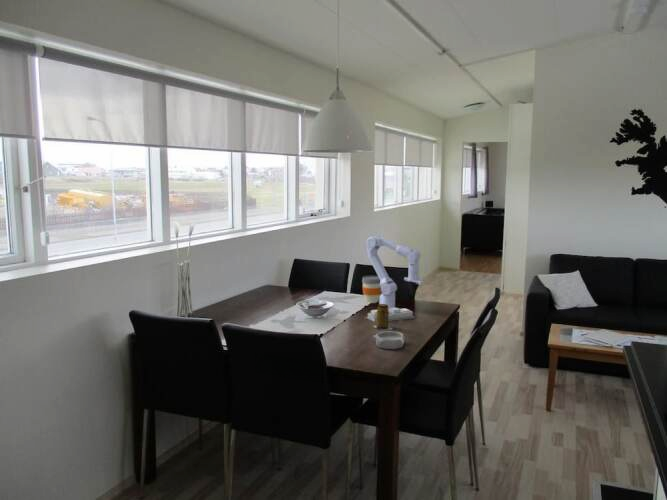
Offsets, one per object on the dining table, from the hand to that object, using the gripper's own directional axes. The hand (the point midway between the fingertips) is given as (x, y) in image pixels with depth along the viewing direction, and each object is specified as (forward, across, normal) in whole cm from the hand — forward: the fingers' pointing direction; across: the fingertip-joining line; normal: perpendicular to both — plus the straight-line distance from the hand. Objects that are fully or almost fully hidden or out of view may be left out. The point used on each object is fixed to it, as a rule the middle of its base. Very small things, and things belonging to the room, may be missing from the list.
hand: (413, 295), depth 310 cm
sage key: (+8, +2, -26) cm, 28 cm away
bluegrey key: (+9, +3, -14) cm, 17 cm away
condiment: (+11, +16, -32) cm, 38 cm away
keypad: (+10, +2, -18) cm, 20 cm away
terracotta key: (+10, +2, -20) cm, 23 cm away
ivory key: (+10, +3, -9) cm, 13 cm away
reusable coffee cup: (+10, -34, -5) cm, 36 cm away
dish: (+11, +41, -46) cm, 62 cm away
